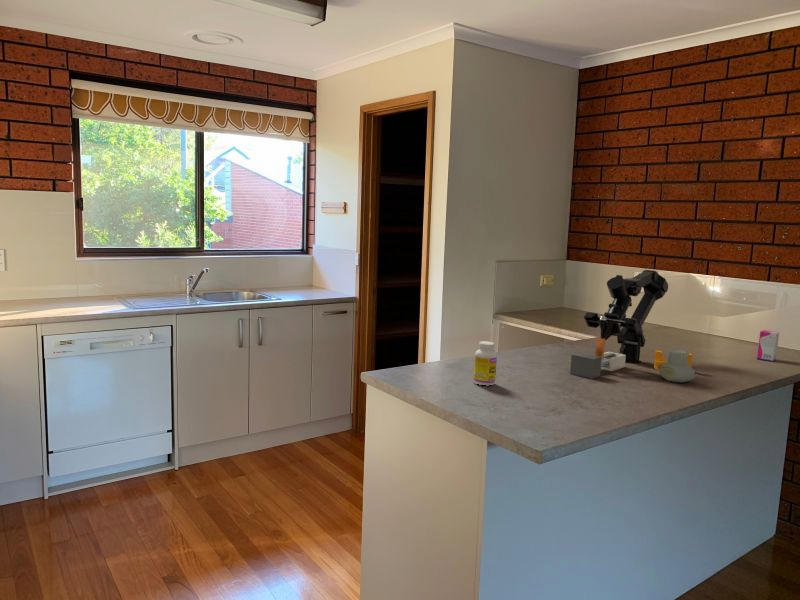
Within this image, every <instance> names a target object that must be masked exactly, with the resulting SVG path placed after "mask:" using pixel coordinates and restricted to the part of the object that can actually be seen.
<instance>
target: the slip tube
mask: <svg viewBox="0 0 800 600" xmlns="http://www.w3.org/2000/svg"><path fill="white" fill-rule="evenodd" d="M605 344H606V341H605V338H601V337H596V342H595V351H594V355H595V356H600V357H602V360H601V367H603V366H606V365H610V358H613V357H616V355H615V354H613V353H614V352H613V353H611V354H607V355H604V353H605V346H606V345H605Z"/></svg>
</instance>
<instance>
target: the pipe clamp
mask: <svg viewBox="0 0 800 600" xmlns="http://www.w3.org/2000/svg"><path fill="white" fill-rule="evenodd" d="M653 359H654V360H653V368H655V369H654V370H655V371H659V368H660V366H661V365H662V364H664V363H666V362H668V360H666V359H665V358H664V356H663V352H662V350H657V349H656V350H655V352H654V358H653ZM692 362H693V354H692V353H689V355H688V365H689V366H691V367H692V364H693V363H692Z"/></svg>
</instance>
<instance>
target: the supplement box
mask: <svg viewBox="0 0 800 600" xmlns="http://www.w3.org/2000/svg"><path fill="white" fill-rule="evenodd" d="M779 337H780V331H772V330H760V332H759V338H758V339H759V340H758V346H757V347H758V348H757V356H756V359H757V360H760V361H765V362H772V363H774V362H775V361H777V354H778V346H779V339H780V338H779Z"/></svg>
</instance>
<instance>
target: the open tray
mask: <svg viewBox="0 0 800 600" xmlns="http://www.w3.org/2000/svg"><path fill="white" fill-rule="evenodd" d="M611 353H613V354H615V355H616V357H613V358H610V365H606V366H603V367H601V370H605V371H610V372H613V371H617V370H619V369H622V368H625V366H626V362H625V359H626V355H624V354H619V352H618V353H617V352H612V351H606V352H605V351H604V355H607V354H611Z"/></svg>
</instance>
